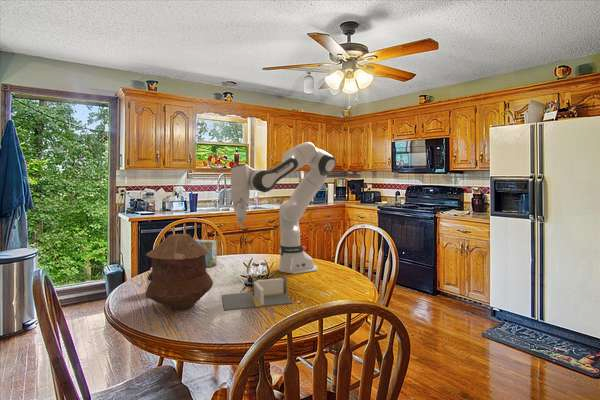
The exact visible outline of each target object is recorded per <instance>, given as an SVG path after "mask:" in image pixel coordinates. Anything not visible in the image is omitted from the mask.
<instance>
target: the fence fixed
mask: <svg viewBox="0 0 600 400" xmlns="http://www.w3.org/2000/svg"><path fill="white" fill-rule="evenodd" d="M256 281H257V282H258V283H259V284H260V286H261V287H262V288H263V289H264V294H271V293H282V292H283V293H286V294H287V276H285V275H283V276H282V277H280V278H267V279H257V278H252V292H253V296H254V283H253V282H256Z"/></svg>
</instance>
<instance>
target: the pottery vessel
mask: <svg viewBox="0 0 600 400" xmlns="http://www.w3.org/2000/svg"><path fill="white" fill-rule="evenodd" d="M194 239H195V238H193V237H192V235H190V234H188V233H176V234H175V233H173V234H169V235H168V236H166V237H165V238H164V239H163V240H162V241H160V242H159V244H158V245H157V246H156V247H154V248H153V249H152V250H150V251H149V252H147V253H146V254H145V256H146V257H149V258H151V268H152V281H151V282H150V284H149V286H148V288H147V287H146V296H147V298H148V299H150V300H151V301H154V302H155V303H157V304H160V305H162V306H165V307H168V308H170V310H171V311H174V312H185V311H188V310H190V309H192V308H194V307H195V305H196V304H197V303H198V302H199V301H200V300H201V299H202V298H203V297H204V296H205V295H206V294H207V293H208V292H210V290H211V289H212V287H213V285H214V281H213V279H212V277H211V276H210V274H209V273H208V272H207V267H206V262H205V254H207V253H208V251H207V250H206V249H205V248H203V247H202V246H201V245H199V244H198V243H197V242H196V241H195V240H194Z"/></svg>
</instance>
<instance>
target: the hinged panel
mask: <svg viewBox="0 0 600 400" xmlns="http://www.w3.org/2000/svg"><path fill="white" fill-rule="evenodd" d="M253 283H254V296H255V298H256V299H257V300H258V302H259V303H260V304H261V305H264V289H263V288H262V287H261V286H260V284H259V283H258V282H257V281H256V282H253V281H252V284H253Z"/></svg>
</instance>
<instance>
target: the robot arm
mask: <svg viewBox="0 0 600 400" xmlns="http://www.w3.org/2000/svg"><path fill="white" fill-rule="evenodd" d="M281 161H282V162H281V163H279V164H278V165H276V166H275V167H273V168H271V169H268V170H257V169H255V168H253V167H250V166H249V165H248V164H247V163H240V164H236V165H233V166H232V167H231V171H230V185H231V188H230V201H231V202H232V203H233V210H234V212H233V213H234V215H235V216H236V217H237V225H238V227H240V228H241V227H243V225H244V224H243V223H244V220H246V219H247V216H248V215H247V205H248V202H250V190H252V191H257V192H262V193H268V192H271V191H272V190H273V188H274V187H275V186H276V185H277V184H278V182H279V181H280V180H282V179H284V178H285V177H287V176H288V175H289V174H291V173H292V172H294V171H297V170H298V169H300V168H303V167H304V166H305V165H307V166H309V167H310V169H309V171H308V172H307V174H306V175H305V176H304V177H303V178H302V180H301V181H300V182H299V184H297V186H296V187H295V188H294V190H293V192H292V194H291V196H290V198H289V199H288V200H284V201H283V202H281V203H280V205H279V208H278V215H279V227H280V245H279V255H280V257H279V263H278V268H277V270H278V272H282V273H288V274H292V275H295V274H304V273H309V272H316V271H318V266H317V265H315V263H314V260H313V258H312V256H310V255H309V254H308V253H307V252H305V251H306V249H307V247H306V246H305V245H302V244H301V229H300V223H299V222H300V220H301V218H302V217H303V215H304V213H305V211H306V210H307V208H308V206H309V205H310V203H311V201H312V200H313V199H314V197H315V196H316V195H317V194H318V192H319V191H320V190H321V188H322V187H323V185H324V183H325V182H326V180H327V177H328V175H329V174H331V172H332V171H333V170H334V169H335V167H336V162H337V161H336V158H335V157H334V156H333V154H330V153H328V152H326V150H323V149H320V148H319V147H318V148H317V147H316V146H315V145H314V143H312V142H311V141H305V142H302V143H300V144H297V145H294V146H293V147H291V148H290V149H288V150H287V151H285V152H284V153H283V154H282V158H281Z"/></svg>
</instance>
